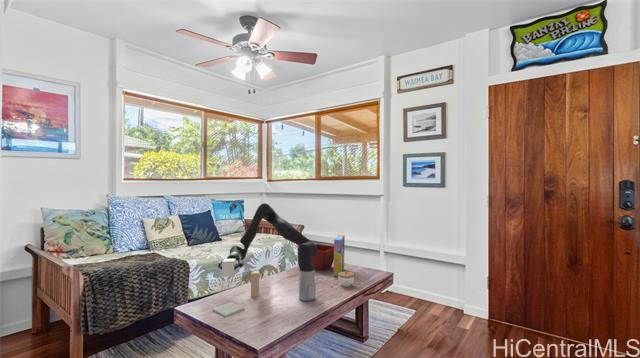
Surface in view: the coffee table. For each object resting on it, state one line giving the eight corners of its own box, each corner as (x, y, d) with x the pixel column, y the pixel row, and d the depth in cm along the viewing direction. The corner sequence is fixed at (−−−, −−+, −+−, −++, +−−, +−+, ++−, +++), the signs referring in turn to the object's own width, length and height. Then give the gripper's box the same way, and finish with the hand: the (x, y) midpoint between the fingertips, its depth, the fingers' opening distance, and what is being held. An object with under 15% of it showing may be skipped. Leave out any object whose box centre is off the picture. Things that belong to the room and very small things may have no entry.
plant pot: (304, 268, 245) (304, 247, 245) (316, 263, 261) (317, 243, 261) (324, 273, 235) (325, 251, 235) (336, 267, 251) (337, 246, 251)
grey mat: (244, 309, 167) (244, 307, 167) (225, 316, 158) (225, 315, 158) (231, 303, 175) (231, 301, 175) (212, 310, 165) (212, 308, 165)
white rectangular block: (235, 273, 170) (236, 258, 170) (233, 276, 164) (234, 261, 164) (224, 273, 169) (224, 258, 169) (221, 276, 163) (222, 261, 163)
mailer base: (259, 293, 191) (259, 271, 191) (258, 296, 186) (258, 273, 186) (251, 293, 190) (251, 271, 190) (250, 296, 185) (251, 273, 185)
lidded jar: (353, 288, 203) (354, 274, 203) (337, 287, 204) (337, 273, 204) (354, 283, 213) (354, 269, 213) (338, 282, 214) (338, 268, 215)
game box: (340, 277, 226) (341, 240, 226) (333, 276, 227) (333, 239, 227) (344, 269, 246) (344, 235, 246) (337, 268, 247) (337, 234, 247)
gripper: (221, 253, 180) (214, 261, 163) (246, 253, 181) (242, 260, 165) (221, 266, 180) (214, 275, 163) (246, 265, 181) (242, 274, 165)
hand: (228, 267), depth 164 cm, fingers closed on white rectangular block, 6 cm apart
